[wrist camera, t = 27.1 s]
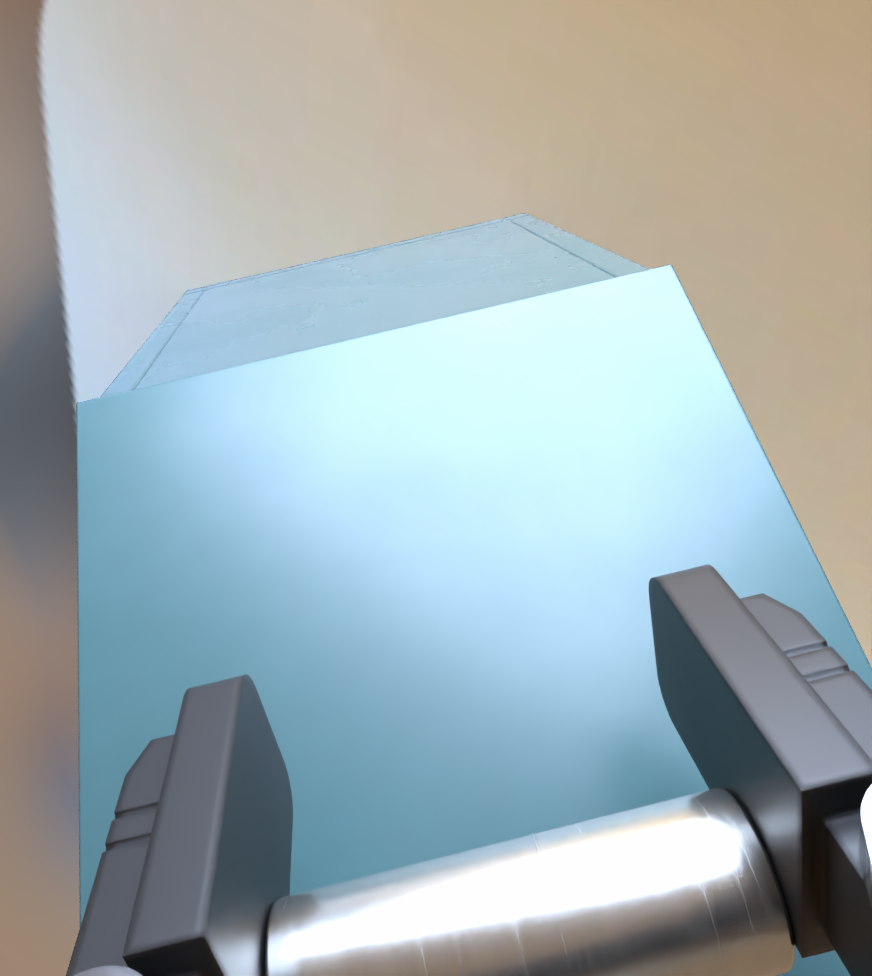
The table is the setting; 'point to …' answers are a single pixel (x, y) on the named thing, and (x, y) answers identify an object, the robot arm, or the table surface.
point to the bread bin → (365, 296)
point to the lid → (453, 630)
